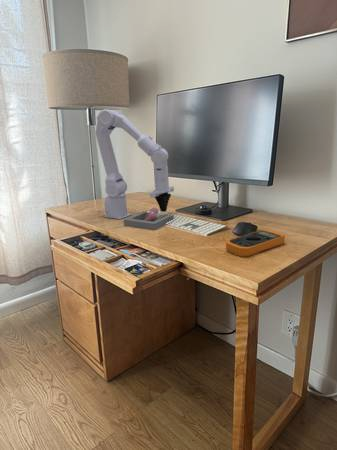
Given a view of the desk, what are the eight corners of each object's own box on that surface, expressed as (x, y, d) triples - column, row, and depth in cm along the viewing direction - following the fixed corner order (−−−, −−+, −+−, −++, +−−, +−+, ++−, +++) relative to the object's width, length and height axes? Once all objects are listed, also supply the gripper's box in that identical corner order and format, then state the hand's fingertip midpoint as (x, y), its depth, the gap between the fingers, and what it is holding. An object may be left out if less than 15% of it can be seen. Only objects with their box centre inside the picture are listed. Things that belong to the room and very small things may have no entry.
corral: (124, 225, 123) (123, 219, 123) (144, 217, 134) (143, 211, 133) (154, 230, 115) (154, 223, 114) (173, 221, 125) (173, 215, 125)
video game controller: (151, 229, 121) (158, 214, 119) (141, 225, 121) (147, 209, 119) (154, 222, 131) (161, 207, 128) (144, 218, 130) (150, 203, 128)
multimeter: (222, 251, 93) (222, 240, 92) (263, 237, 102) (264, 227, 101) (243, 260, 86) (243, 248, 85) (286, 244, 95) (286, 234, 94)
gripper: (159, 182, 120) (161, 216, 124) (179, 176, 131) (180, 208, 135) (144, 181, 124) (147, 214, 128) (165, 176, 135) (167, 206, 139)
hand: (163, 211), depth 132 cm, fingers closed
